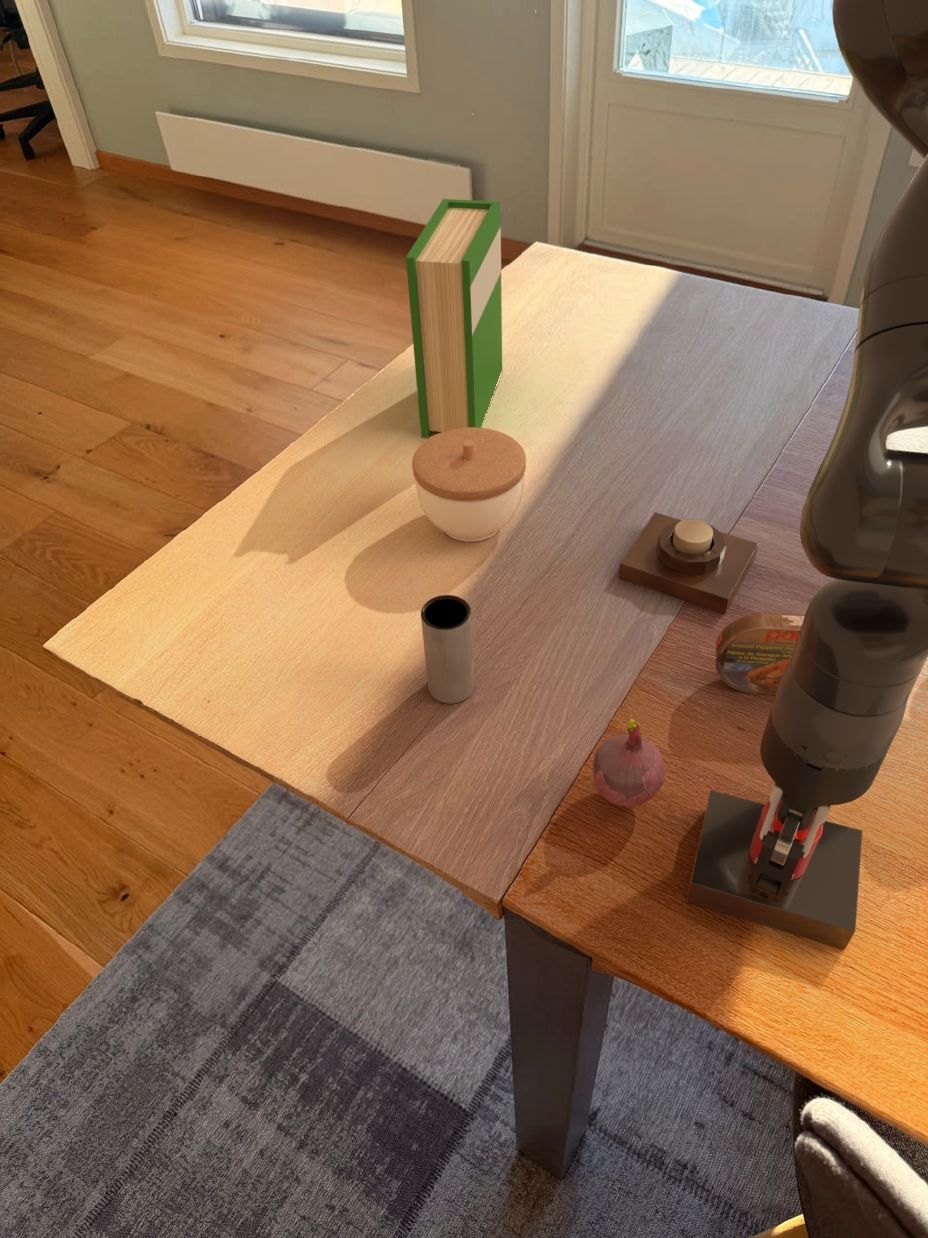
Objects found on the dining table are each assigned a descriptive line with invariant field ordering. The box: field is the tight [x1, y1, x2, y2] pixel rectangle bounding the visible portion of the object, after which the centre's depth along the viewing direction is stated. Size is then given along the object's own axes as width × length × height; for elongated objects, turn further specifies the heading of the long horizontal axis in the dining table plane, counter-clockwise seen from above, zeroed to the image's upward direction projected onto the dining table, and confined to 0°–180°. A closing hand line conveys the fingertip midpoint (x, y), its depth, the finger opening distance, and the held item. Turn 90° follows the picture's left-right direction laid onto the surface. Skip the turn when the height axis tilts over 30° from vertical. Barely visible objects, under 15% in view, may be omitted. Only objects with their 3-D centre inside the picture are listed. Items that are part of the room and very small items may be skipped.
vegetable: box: [592, 718, 666, 808], centre depth 75 cm, size 6×6×10 cm
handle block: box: [685, 789, 864, 951], centre depth 72 cm, size 12×9×3 cm
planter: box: [420, 594, 475, 705], centre depth 85 cm, size 4×4×10 cm
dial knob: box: [750, 800, 823, 880], centre depth 69 cm, size 4×4×5 cm
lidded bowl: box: [411, 427, 527, 543], centre depth 103 cm, size 13×13×11 cm
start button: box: [673, 518, 713, 555], centre depth 96 cm, size 4×4×2 cm
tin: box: [715, 612, 805, 696], centre depth 84 cm, size 15×3×8 cm, turn 82°
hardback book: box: [405, 198, 503, 438], centre depth 117 cm, size 18×7×24 cm, turn 167°
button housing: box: [617, 512, 759, 615], centre depth 98 cm, size 12×10×4 cm
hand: (780, 851), depth 70 cm, fingers open, 7 cm apart
